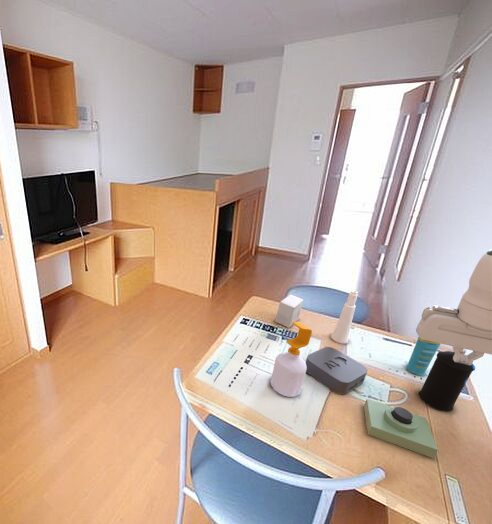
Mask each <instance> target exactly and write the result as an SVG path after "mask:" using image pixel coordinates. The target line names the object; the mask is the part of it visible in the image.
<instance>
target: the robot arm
mask: <svg viewBox="0 0 492 524" xmlns="http://www.w3.org/2000/svg"><path fill="white" fill-rule="evenodd" d="M415 332H416V335H417V336H418V337H420V338H421V339H422V340H426V341H431V342H436V343H440V345H445V346H449V347H452V350H453V352H455V354H454V356H453V360H454V361H455V362H458V363H462V364H467V365H472V363H473V362H474V361H477V360H479V359H480V358H483V357H484V355H485V354H487V355H491V356H492V249H489V250H487V251H485V253H484V254H483V255H481V257H480V259H479V261H478V262H477V263H476V265H475V267H474V269H473V271H472V273H471V275H470V277H469V280H468V288H467V290H466V291H465V292H464V293H463V294H462V296H461V299H460V301H459V303H458V306H457V307H456V308H450V307H443V306H439V305H433V306H428V307H425V308H424V309H423V311H422V313H421V318H420V320H419V321H418V323H417V326H416V328H415ZM463 349H465V350H469V351H472V352H470V353H468V354H464V355H463V354H460V353H459V351H461V352H462V351H463ZM473 364H474V363H473Z"/></svg>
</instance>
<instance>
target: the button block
mask: <svg viewBox="0 0 492 524" xmlns="http://www.w3.org/2000/svg"><path fill="white" fill-rule="evenodd" d="M395 407H396V406H391V405H388V404H385V403H382V402H379V401H375V400H373V399H369V398H366V399H365V402H364V404H363V409H364V411H363V412H364V417H365V423H366V429H367V435H368V436H371V437H374V438H376V439H379V440H382V441H384V442H387V443H390V444H393V445H396V446H398V447H401V448H404V449H407V450H409V451H413V452H415V453H417V454H420V455H422V456H425V457H428V458H431V459H434V458H435V457H436V454H437V453H438V451H439V449H438V446H437V444H436V441H435V438H434V436H433V433H432V430H431V427H430V424H429V421H428V420H427V417H425V416H422V415H419V414H417V413H412V412H410V413H411V414H412V416H413V418H412V420H411V422H410V424H403V423H400V422H399V421H397V420H396V419H394V417H393V416H392V413H393V410H394V408H395Z"/></svg>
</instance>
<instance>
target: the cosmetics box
mask: <svg viewBox="0 0 492 524" xmlns="http://www.w3.org/2000/svg"><path fill="white" fill-rule="evenodd" d="M303 304H304V299H303V298H300V297H298V296H295V295H293V294H289V295H287V296H286V297H285V298H283V299H282V300H280V302H279V304H278V309H277V312H276V317H275V320H274V322H275V323H277V324H280V325H282V326H284V327H286V328H288V329H289V328H290V327H291V326H293V325H294V324H293V323H292V322H298V320H299V318H300V315H301V311H302V307H303Z"/></svg>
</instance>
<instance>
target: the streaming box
mask: <svg viewBox="0 0 492 524" xmlns="http://www.w3.org/2000/svg"><path fill="white" fill-rule="evenodd" d="M305 363H306V366H307V369H306V373H307V374H309V375H310V376H311V377H313V379H316V380H317V381H319V382H320V383H322V384H323V385H324V386H325V387H327V388H328V389H330V390H331V391H333V392H334V393H336V394H339V395H346V394H348V393H350V392H352V391H353V390H355V389H357V388H358V387H360V386H361V385H363V384H364V382H365V379H366V376H367V373H368V368H367V367H366V366H365V365H363V364H362V363H360V362H359V361H357V360H355V359H354V358H352V357H350V356H349V355H346V354H345V353H343V352H341V351H340V350H338V349H337V348H334V347H331V346H324V347H322V348H320V349H318V350H316V351H314V352H311V353H309V354H308V355H307V356H306V361H305Z"/></svg>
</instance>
